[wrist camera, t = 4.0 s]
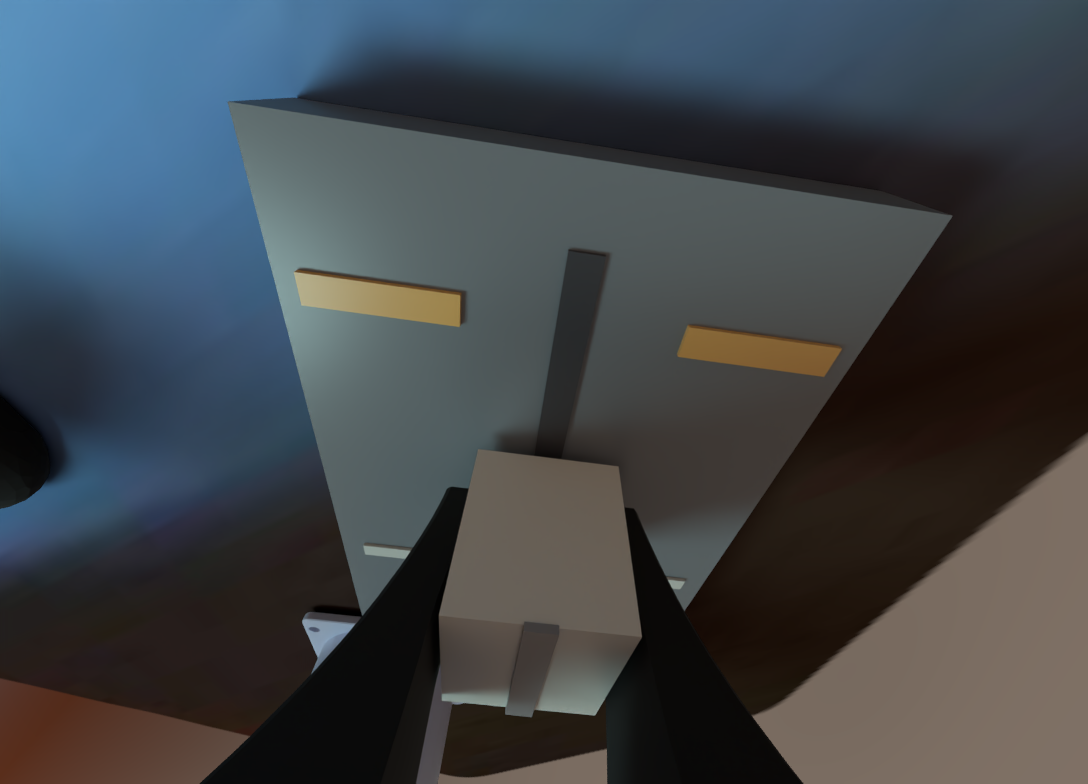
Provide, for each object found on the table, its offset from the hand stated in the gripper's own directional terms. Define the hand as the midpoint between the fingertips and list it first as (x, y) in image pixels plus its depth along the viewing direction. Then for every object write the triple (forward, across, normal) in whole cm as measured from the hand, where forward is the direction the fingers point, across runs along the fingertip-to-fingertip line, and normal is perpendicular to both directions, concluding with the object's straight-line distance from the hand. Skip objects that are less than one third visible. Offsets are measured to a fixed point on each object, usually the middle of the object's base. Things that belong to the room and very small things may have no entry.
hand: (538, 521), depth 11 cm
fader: (0, 0, 0) cm, 0 cm away
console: (+3, 0, 0) cm, 3 cm away
